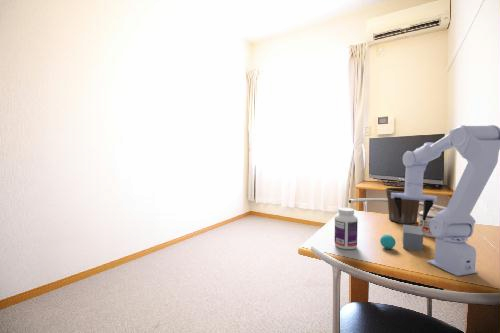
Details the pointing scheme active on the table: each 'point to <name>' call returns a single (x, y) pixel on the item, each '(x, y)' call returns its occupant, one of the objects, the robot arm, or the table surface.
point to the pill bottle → (346, 229)
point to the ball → (387, 241)
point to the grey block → (412, 238)
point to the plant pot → (402, 208)
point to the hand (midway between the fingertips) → (411, 218)
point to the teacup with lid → (426, 222)
